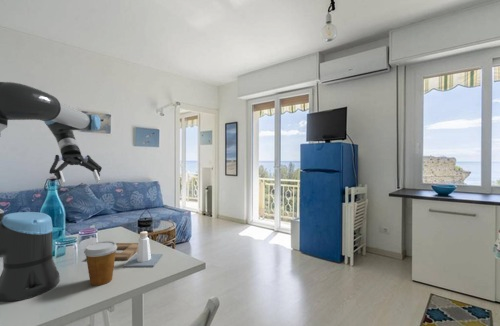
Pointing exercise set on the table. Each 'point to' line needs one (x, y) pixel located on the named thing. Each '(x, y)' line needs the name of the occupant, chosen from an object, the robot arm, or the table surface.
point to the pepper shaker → (143, 248)
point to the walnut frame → (126, 250)
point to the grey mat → (150, 263)
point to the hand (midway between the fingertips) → (82, 183)
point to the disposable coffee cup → (100, 261)
